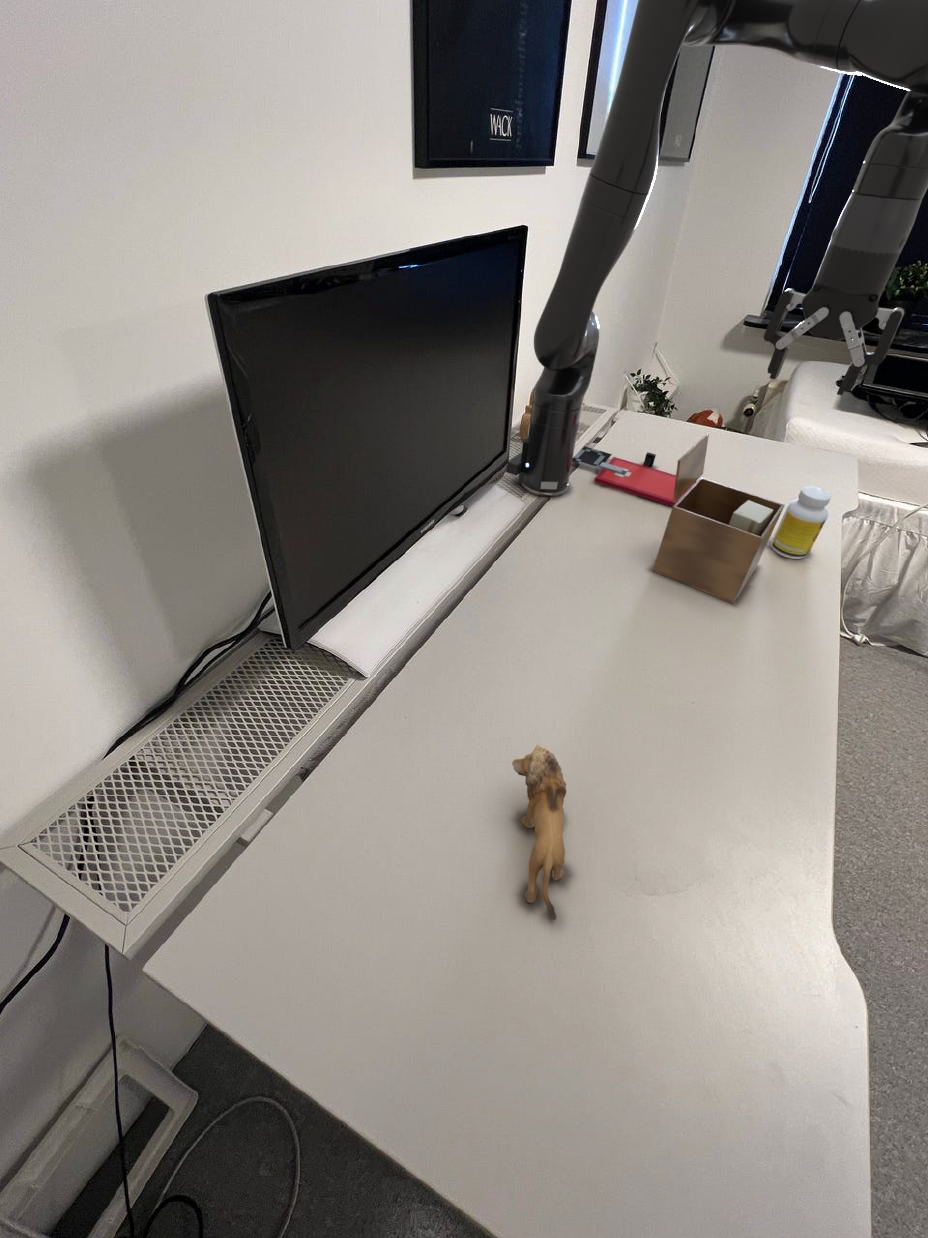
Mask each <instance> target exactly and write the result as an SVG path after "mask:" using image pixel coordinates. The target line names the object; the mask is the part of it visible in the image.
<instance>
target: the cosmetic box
mask: <svg viewBox="0 0 928 1238" xmlns="http://www.w3.org/2000/svg"><path fill="white" fill-rule="evenodd" d="M772 512H773V509H770V508H767V507H765V506H762V505H760V504H757V503H755V502H752V501H750V500H748V501H746V502H745V503H744V504H743V505H741V506H740V507H739V508H738V509H737V510H736V511H735V512H734V513H733V515H732V518H731V520H730V522H729V526H732V527H735V528H738V529H741V530H743V531H746V532H749V533H752V534H755V535H757V536H760V537H761V536H762V534H763V532H764V530H765V528H766V526H767V523H768V521H769V519H770V517H771V514H772Z"/></svg>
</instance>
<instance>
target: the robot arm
mask: <svg viewBox="0 0 928 1238" xmlns="http://www.w3.org/2000/svg"><path fill="white" fill-rule="evenodd" d="M714 46H715V47H716V46H742V47H751V48H758V49H761V50H766V51H770V52H773V53H776V54H779V55H782V56H783V57H786V58H789V59H792V60H795V61H799V62H801V63H804V64H807V65H810V66H815V67H818V68H822V69H827V70H830V71H835V72H838V73H843V74H847V75H857V76H862V75H863V76H864V77H865V76H866V77H868V78H870V79H873V80H876V81H879V82H881V83H884V84H887V85H890V86H893V87H896V88H899V89H903V90H906V91H907V92H906V94H905V96H904V98H903V100H902V102H901V103H900V106H899V108H898V110H897V112H896V114H895V116H894V118H893V120H892V122H891V123H890V124H889V125H888V126H887V127H885V128H883V129H882V130H880V131H879V132H878V134H877V135H876V136H875V137H874V139H873V140H872V142H871V144H870V147H869V148H868V151H867V153H866V155H865V158H864V160H863V162H862V165H861V169H860V170H859V172H858V175H857V178H856V181H855V183H854V186H853V189H852V192H851V193H850V195H849V198H848V200H847V201H846V204H845V206H844V207H843V210H842V211H841V214H840V216H839V218H838V220H837V223H836V226H835V227H834V228H833V230H832V233H831V236H830V241H829V243H828V245H827V249H826V251H825V254H824V256H823V258H822V261H821V264H820V267H819V269H818V271H817V274H816V277H815V279H814V282H813V284H812V287H811V289H810V290H809V291H808V292H807V294H806V293H802V292H799V291H796V290H795V289H794V288H793V287H792V288H791V287H790V288H787V289H786V290H784V291H783V292H782V293H781V294H780V296H779V298H778V301H777V303H776V305H775V308H774V310H773V312H772V315H771V317H770V320H769V323H768V325H767V327H766V330H765V332H764V334H763V340H764V341H765V342H769V343H770V344H772V345H773V348H774V351H773V353H772V356H771V359H770V361H769V364H768V367H767V374H770V375H769V379H770V380H777V379H778V377H779V376H780V374H781V371H782V369H783V366H784V363H785V360H786V358H787V355H788V353H789V351H790V347H789V345H790V344H791V343H792V342H794V341H795V340H797V339H798V338H799V337H801V336H803V334H805V333H806V332H807V331H808V332H809V333H810V334H812V336H813V337H816V338H824V337H825V338H828V339H830V340H832V341H836V342H839V341H842V340H845V342H846V343H845V344H846V346H847V349H848V351H849V354H850V357H851V360H852V362H851V363H850V364H849V366H848V367H847V368H848V369H847V370H846V373H845V375H844V377H843V379H842V381H841V383H840V385H839V387H838V390H837V392H836V396H837V395H838V396H842V397H843V396H844V394H845V393H846V392H847V393H850V392H851V391H852V389H853V388H854V387H855V385H856V383H857V381H858V378H859V376H860V375H861V372H862V370H863V368H864V367H866V366H869V365H871V366H872V365H875V366H876V365H877V366H879V365H880V364H882V363H883V361H884V360H885V359H886V356H887V354H888V352H889V350H890V347H891V345H892V343H893V341H894V338H895V336H896V333H897V331H898V329H899V326H900V324H901V323H902V319H903V317H904V315H905V309H904V308H903V307H896V308H885V307H880V299H881V296H882V294H883V293H884V290H885V287H886V285H887V284H888V282H889V279H890V277H891V274H892V272H893V271H894V268H895V266H896V264H897V261H898V259H899V257H900V255H901V253H902V251H903V248H904V246H905V245H906V243H907V240H908V238H909V236H910V233H911V231H912V229H913V227H914V224H915V222H916V219H917V215H918V212H919V209H920V206H921V204H922V201H923V199H924V196H925V195H926V192H927V190H928V0H637V4H636V8H635V12H634V17H633V20H632V24H631V28H630V33H629V36H628V41H627V45H626V50H625V54H624V57H623V61H622V64H621V65H622V66H621V70H620V74H619V78H618V81H617V85H616V89H615V92H614V95H613V98H612V102H611V104H610V108H609V111H608V115H607V118H606V121H605V124H604V129H603V132H602V134H601V138H600V141H599V144H598V148H597V151H596V154H595V156H594V159H593V162H592V164H591V166H590V167H591V168H590V170H589V173H588V176H587V178H586V183H585V185H584V188H583V192H582V195H581V198H580V201H579V205H578V208H577V212H576V215H575V219H574V222H573V225H572V229H571V231H570V235H569V237H568V241H567V244H566V247H565V250H564V254H563V257H562V261H561V265H560V268H559V271H558V274H557V276H556V279H555V282H554V284H553V287H552V289H551V292H550V294H549V297H548V298H547V301H546V303H545V306H544V308H543V310H542V312H541V315H540V317H539V319H538V322H537V324H536V326H535V327H536V328H535V330H534V333H533V350H534V354H535V357H536V359H537V361H538V362H539V363H540V365H541V366H542V367H543V369H542V372H541V374H540V376H539V378H538V380H537V381H536V383H535V384H534V388H533V392H532V401H531V402H532V403H531V408H530V417H529V426H528V434H527V437H525V438H524V439H522V448H521V452H520V453H517V454H516V455H515V456H513V457H512V458H510V459H509V460H507V461H508V465H507V469H506V468H505V472H506V473H508V474H510V475H513V476H518V480H517V484H518V485H520V486H522V488H523V489H524V490H525V491H527V492H528V493H530V494H532V495H536V496H538V497H539V496H540V497H550V498H551V497H557V496H558V497H559V496H561V495H563V494H565V493H566V492H567V491H568V489H569V482H570V475H571V470H572V465H573V461H572V459H573V457H574V454H575V447H576V442H577V435H578V432H579V431H578V430H579V424H580V420H581V414H582V408H583V405H584V398H585V395H586V393H587V391H588V389H589V386H590V383H591V380H592V376H593V371H594V368H595V362H596V357H597V352H598V347H599V340H600V324H599V321H598V317H597V315H596V314H595V313H594V311H593V309H594V307H595V303H596V301H597V298H598V296H599V295H600V292H601V290H602V287H603V286H604V283H606V280H607V278H608V277H609V275H610V273H611V272H612V271H613V269H614V267H615V266H616V264H617V262H618V261H619V259H620V258H621V256H622V255H623V253H624V251H625V249H626V248H627V246H628V244H629V243H630V241H631V239H632V237H633V235H634V233H635V231H636V229H637V227H638V224H639V222H640V220H641V217H642V215H643V213H644V210H645V208H646V204H647V202H648V200H649V197H650V195H651V192H652V189H653V186H654V183H655V181H656V175H657V171H658V164H659V152H660V129H661V128H660V127H661V113H662V107H663V101H664V98H665V93H666V90H667V87H668V83H669V80H670V78H671V75H672V72H673V69H674V67H675V63H676V61H677V59H678V56H679V53H680V50H681V49H682V47H686V48H695V47H714ZM799 304H800V305H801V308H802V312H803V317H804V320H803V321H801V322H800V323H799V324H798V325H796V326H795V327H794V328H792V329H791V330H790V331H788V332H787V333H786V334H784V333H782V332H781V331H780V330H781V328H782V326H783V323H784V321H785V319H786V317H787V314H788V312H791V311H792V310H794V309H795V308H796V307H797V306H798V305H799ZM875 318H876V319H878V328H879V329H880V330H883V331H882V334H881V336H880V338H879V340H878V343H877V344H876V345H877V346H876V348H875V350H874V351H867V347H866V344H865V336H864V333H863V327H864V326H866V325H868V324H869V323H870V322H871V321H873V320H874V319H875Z"/></svg>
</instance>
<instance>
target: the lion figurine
mask: <svg viewBox="0 0 928 1238" xmlns="http://www.w3.org/2000/svg"><path fill="white" fill-rule="evenodd" d="M511 765H512V767H513V770H514V772H515V773H517V775H518V776H522V777H525V780H524V781H525V782H524V784H525V786H526V793H527V799H528V803H527V807H526V816H523V817H522V819H521V824H522V825H523V826H524V827H526V828H527V829H530V828H531V829H532V828H533V827H534V834H535V838H536V841H535V842H534V844H533V847H532V849H531V851H530V857H529V860H528V868H527V869H528V870H527V871H528V872H527V873H528V887H527V890H526V891H525V892H524V899H525V902H527V903H531V904H532V903H535V902H536V900H537V893H538V888H537V878H538V875H539V872H540V871H541V870H542V871H543V872H542V879H541V896H542V899H543V902H544V904H545V907H546V910H547V915H548V916H549V918H550V919H551V920H553V921H556V920H557V914H556V911H555V906H554V905H553V904H552V902H551V900H550V898H549V893H548V892H549V891H548V890H549V882H550V876H551V877H552V880H554V881H558V880H561V879H562V878H563V876H564V874H565V871H564V869H563V866H564V864H565V858H566V848H565V840H564V836H563V833H564V824H565V812H564V807H563V805H564V801H565V800H564V799H565V797H566V794H567V787H566V786H567V783H566V781H565V780H564V776H563V775H564V774H563V772H562V767H561V766H560V765H559V761H558V760H557V758H556V756H555V754H554V753H553V752H550V751H549V750H548V749H547V748H545V747H542V746H540V745H539V744H536V745H535V747H534V749H533V750H532V751H531V753H528V754H526V755H525V756H524V757H523V758H515V759H513V760H512V763H511ZM542 868H543V869H542Z"/></svg>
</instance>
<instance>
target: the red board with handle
mask: <svg viewBox="0 0 928 1238" xmlns="http://www.w3.org/2000/svg"><path fill="white" fill-rule="evenodd" d="M612 455H613V454H612V453H609V452H606V451H602V450H599V449H595V448H592V447H589V446H587V445H586V446H583V447H582V448H581V449H580V450H579V451H578V452H577V453H576V454H575V455H573V459H572V463H576V464H579V465H581V466H586V467H589V468H593V469H596V470H597V474H596V476H595V477H594V480H593V481H594V483H597V484H600V485H603V486H606V487H610V488H613V489H616V490H619V491H622V492H625V493H628V494H630V495H635V496H637V497H641V498H644V499H648V500H649V501H650V500H651V501H653V502H656V503H660V504H663V505H666V506H670V507H672V508H673V506H674V505H675V504H676V503H677V502H678V501H679V500H680V499H681V498H682V497H683V496H684V495H685V493H686V492H687V491H688V490H689V489H690V488H691V487H692V486H693V485H694V484H695V483H696V482H697V481H698V480H697V481H696V482H695V483H694V484H693V485H692V486H691V487H690V488H689V489H688V490H687V491H686V492H685V493H684V494H683V495H682V496H681V497H680V498H679V499H678V500H677V501H676V502H675V503H674V502H673V497H674V489H675V480H676V474H674V473H669V472H667V471H663V470H659V469H656V468H653V467H654V463H655V460H656V456H657V454H656V453H652V452H650V451H649V452H646V454H645V457H644V461H643V464H639V463H636V462H633V461H629V460H626V459H622V458H619V457H617V456H616V457H615V456H613V457H612V458H611V456H612ZM610 458H611V459H610ZM609 459H610V460H609ZM608 460H609V462H608Z"/></svg>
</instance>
